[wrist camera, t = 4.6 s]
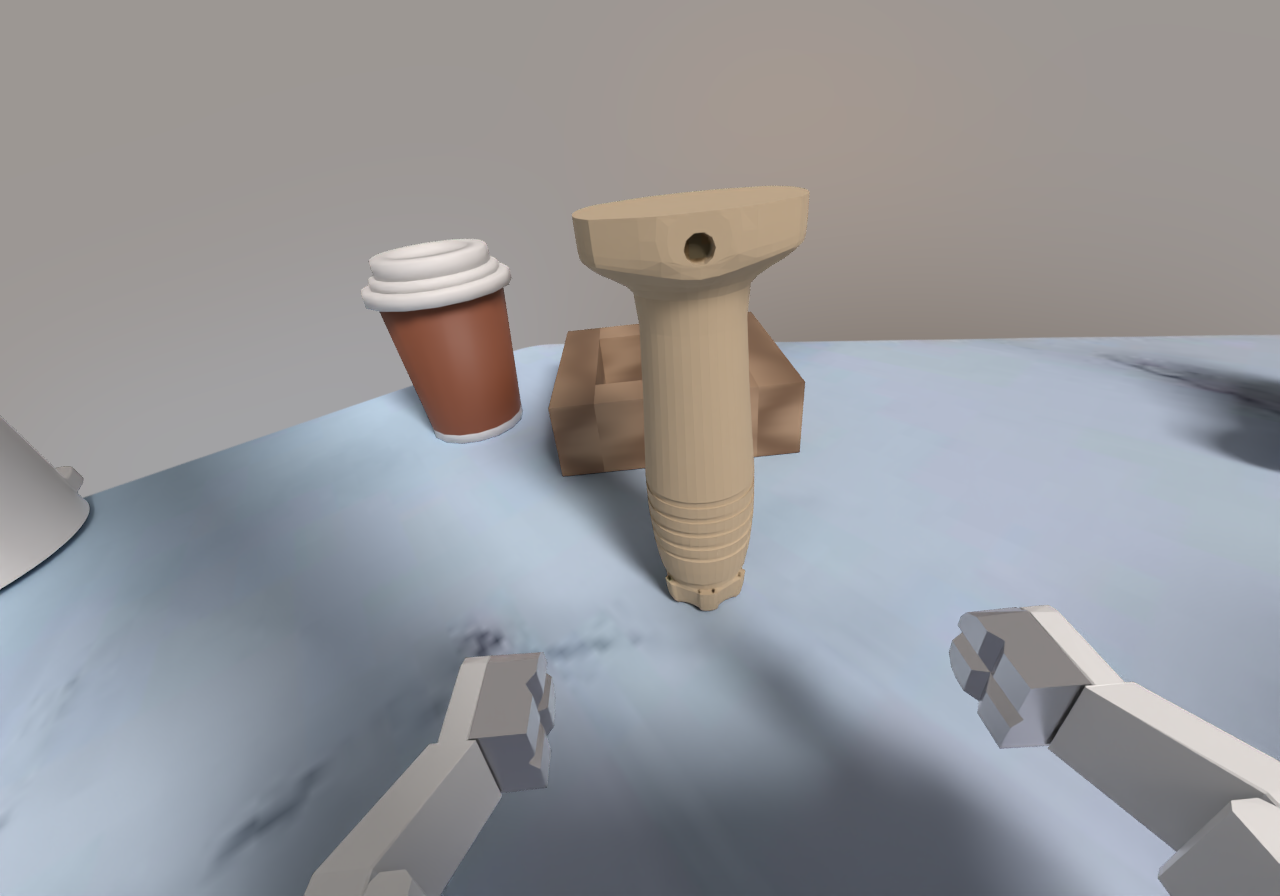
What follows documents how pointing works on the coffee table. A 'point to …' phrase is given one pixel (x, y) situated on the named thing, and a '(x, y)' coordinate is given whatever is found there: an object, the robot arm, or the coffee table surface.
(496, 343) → the coffee cup
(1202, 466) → the coffee table surface
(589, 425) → the socket block
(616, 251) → the handle
